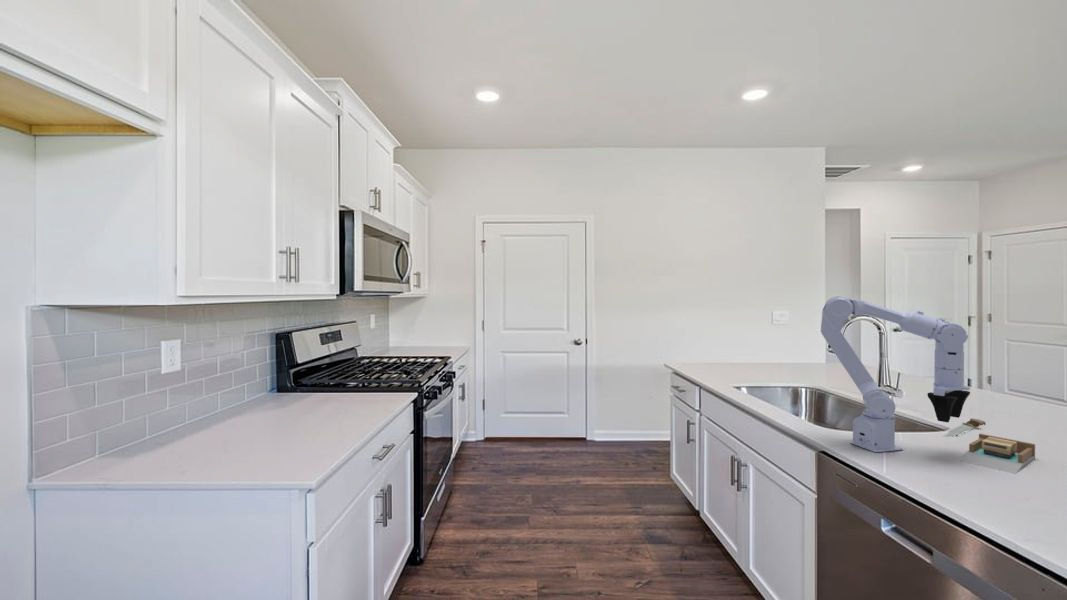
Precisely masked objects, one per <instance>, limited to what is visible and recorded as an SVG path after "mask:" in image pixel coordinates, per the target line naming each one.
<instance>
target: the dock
mask: <svg viewBox="0 0 1067 600" xmlns="http://www.w3.org/2000/svg"><path fill="white" fill-rule="evenodd" d="M988 437H993V438H998V439H1003V440H1009V441H1014V442H1017V451H1015V455H1018V461H1017V462H1012V461H1008V460H1003V459H999V458H994V457H990V456H985V455H981V454H976V453H975V452H977V451H979V450H980V449H982V440H984V439H986V438H988ZM1035 459H1036V444H1035V443H1032V442H1027V441H1022V440H1021V441H1020V440H1016V439H1011V438H1005V437H1000V436H995V435H989V434H984V433H979V434H978V438H977V439H976V440H974V441H972V442H970V443H969V445H968V450H967V451H965V452H964V453H963V454H962V455H961V456H960V457H959V458H958V459H957V461H959V460H960V461H959V462H965V463H968V464H973V465H975V466H980V467H981V466H982V467H985V468H989V469H993V470H997V471H1002V472H1005V473H1008V474H1009V473H1010V474H1012V475H1013V474H1014V475H1016V474H1017V473H1018V472H1019V471H1022V469H1023V468H1025V467H1026V466H1027V465H1029V464H1031V462H1033V461H1034V460H1035Z"/></svg>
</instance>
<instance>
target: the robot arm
mask: <svg viewBox="0 0 1067 600" xmlns="http://www.w3.org/2000/svg"><path fill="white" fill-rule="evenodd" d="M851 315H852V316H855V317H856V316H862V315H863V316H864V315H866V316H870V317H875V318H877V319H880V320H884V321H888V322H890V323H894V324H898V326H899V327H900V330H902V332H906V333H909V334H913V335H915V336H919V337H922V338H924V339H928V340H934V342H935V343H934V346H935V348H934V368H933V369H934V382H933V385H932V386H933V392H928V393H927V394H926V395H927V397H928V399H929V400H930V402H931V404H932V405H933V406H932V407H933V409H934V412H935V416H936V419H937V422H943V423H950V420H951V417H952V418H956V419H959V418H960V417H961V414H962V410H963V407H964V404H965V403H966V400H967V399H968V397H969V396H970V395H971V392H970V391H969V390H971V387H970V386H969V385H968V386H967V385H965V352H964V348H965V347H964V344H965V343H966V342H967V341H968V338H969V335H968V334H967V331H966V330H965V328H963V326H962V325H959V324H956V323H952V322H950V321H946V319H944V318H942V317H941V318H936V317H934V316H933V317H932V316H929V315H926V314H924V312H923V311H919V310H917V311H913V310H911V311H908V312H905V313H902V312H900V311H899V312H898V311H895V310H893V309H891V308H890V309H889V308H887V307H883V306H881V305H878V304H875V303H872V302H868V301H865V300H861V299H853V298H847V297H843V296H832V297H830V298H829V299H828V300H827V301H826V302H825V303H824V306H823V308H822V310H821V321H820V332H821V335H822V337H823V338H824V340H825V341H826V342H827V344H828V345H829V347H830V348H831V350H832V352H833V353H834V355H835V356H836V357H837V359H838V360H839V362H840V364H841V365H842V367H843V368H844V370H845V371H846V372H847V374H848V375H849V377H850V378H851V380H852V382H854V384H855V385H856V387H857V389H858V390H859V392H860V393H861V395H862V401H863V403H864V405H865V406H866V407H865V408H864V410H862V413H861V415H860V416H858V417H855V419H854V420H853V423H852V440H850V442H849V444H852V445H854V446H857V447H860V448H863V449H865V450H868V451H870V452H874V453H883V452H892V451H902V450H904V448H903V447H902V446H898V445H895V439H896V438H895V436H896V435H895V434H896V433H895V431H896V430H895V427H896V426H895V424H896V421H895V418H896V415H895V414H894V413H895V411H896V404H895V402H894V400H893V399H892V398H890V395H889V394H888V393H887V391H884V390H883V389H882V388H880V387H879V386H878V384H877V383H876V382H875V379H874V378H873V377H872V375H871V374H870V372H869V371H868V370H867V368H866V366H864V364H863V362H862V361H861V359H860V358H859V356H858V355H857V354H856V352H855V350H854V349H853V348H852V346H851V345H850V343H849V342H848V340H847V339H846V337H845V336H844V335H843V332H842V330H843V327H844V325H845V321H847V320H848V318H849V317H850V316H851Z"/></svg>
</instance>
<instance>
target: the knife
mask: <svg viewBox="0 0 1067 600" xmlns="http://www.w3.org/2000/svg"><path fill="white" fill-rule="evenodd" d="M986 423H987V422H986V421H985V420H981V419H979V418H974V417H973V418H971V417H970V418H969V420H968V421H966V422H962V423H961V425H959V426H956V427H954V428H951V429H949V431H948V433H947V434H945V435H943V436H945V438H947V437H950V436H952V437H955V436H954V435H959V434H961V433H962V432H964V431H969V432H971V431H972V430H979V429H980V430H981V429H982V428H981V427H979V426H980V425H983V424H984V425H983V426H985V425H986ZM974 428H975V429H974ZM970 430H971V431H970ZM980 430H979V431H980ZM981 431H982V430H981ZM961 435H962V434H961ZM959 436H960V435H959Z"/></svg>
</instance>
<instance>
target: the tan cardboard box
mask: <svg viewBox="0 0 1067 600" xmlns="http://www.w3.org/2000/svg"><path fill="white" fill-rule="evenodd" d="M982 449H984V453H985V454H990V455H994V456H999V457H1003V458H1008V459H1009V458H1010V455H1015V451H1017V442H1014V441H1009V440H1003V439H998V438H993V437H988V438H986V439H984V440H982Z"/></svg>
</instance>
